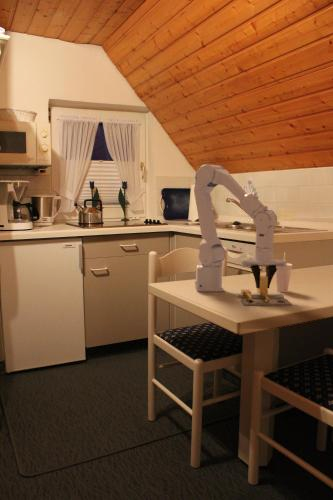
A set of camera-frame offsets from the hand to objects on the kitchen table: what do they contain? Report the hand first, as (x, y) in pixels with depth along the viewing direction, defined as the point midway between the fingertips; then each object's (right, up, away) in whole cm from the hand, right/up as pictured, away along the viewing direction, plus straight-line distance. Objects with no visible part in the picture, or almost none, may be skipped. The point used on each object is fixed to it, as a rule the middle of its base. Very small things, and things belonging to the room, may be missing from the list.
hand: (262, 287), depth 139 cm
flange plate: (0, -4, -6) cm, 8 cm away
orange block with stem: (0, -3, -2) cm, 4 cm away
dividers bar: (0, -4, -2) cm, 5 cm away
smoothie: (+9, -2, +10) cm, 14 cm away
